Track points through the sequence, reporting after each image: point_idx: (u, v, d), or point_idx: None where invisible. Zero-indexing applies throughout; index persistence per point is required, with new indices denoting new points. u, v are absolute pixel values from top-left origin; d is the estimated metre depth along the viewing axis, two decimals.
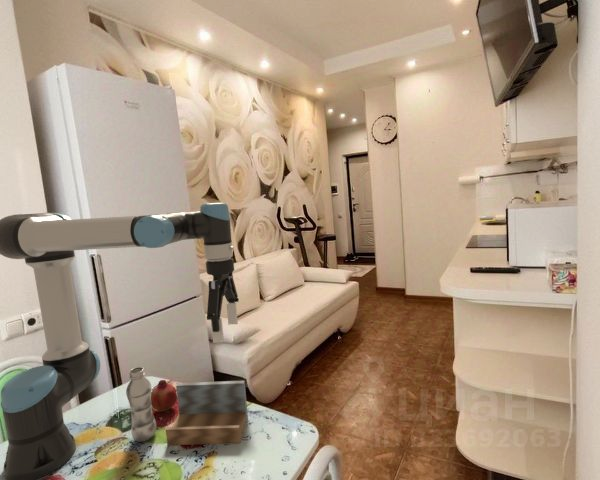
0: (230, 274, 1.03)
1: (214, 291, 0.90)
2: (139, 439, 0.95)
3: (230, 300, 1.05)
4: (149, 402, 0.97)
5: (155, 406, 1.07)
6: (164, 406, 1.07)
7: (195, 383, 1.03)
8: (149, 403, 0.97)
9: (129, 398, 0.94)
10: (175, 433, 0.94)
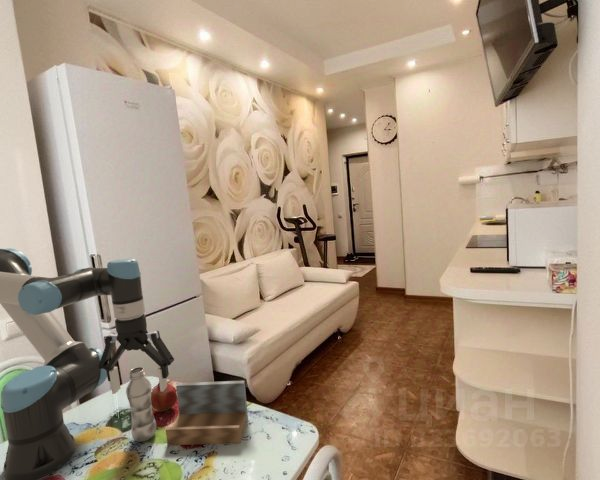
0: None
1: None
2: (139, 439, 0.95)
3: None
4: (149, 402, 0.97)
5: (155, 406, 1.07)
6: (164, 406, 1.07)
7: (195, 383, 1.03)
8: (149, 403, 0.97)
9: (129, 398, 0.94)
10: (175, 433, 0.94)
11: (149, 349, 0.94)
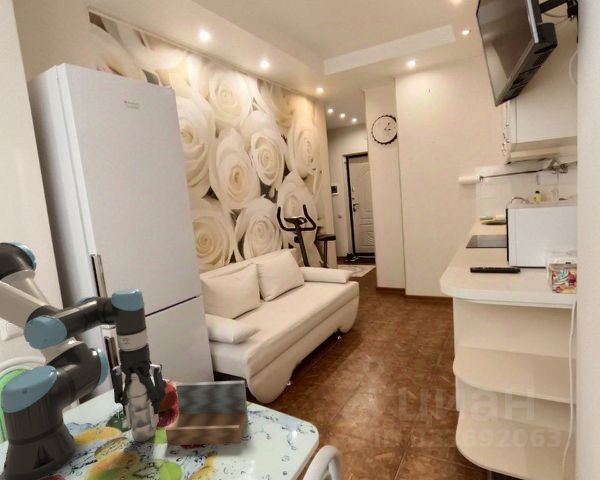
0: None
1: None
2: (139, 439, 0.95)
3: None
4: (149, 402, 0.97)
5: None
6: (164, 406, 1.07)
7: (195, 383, 1.03)
8: (149, 403, 0.97)
9: (129, 398, 0.94)
10: (175, 433, 0.94)
11: (148, 382, 0.96)
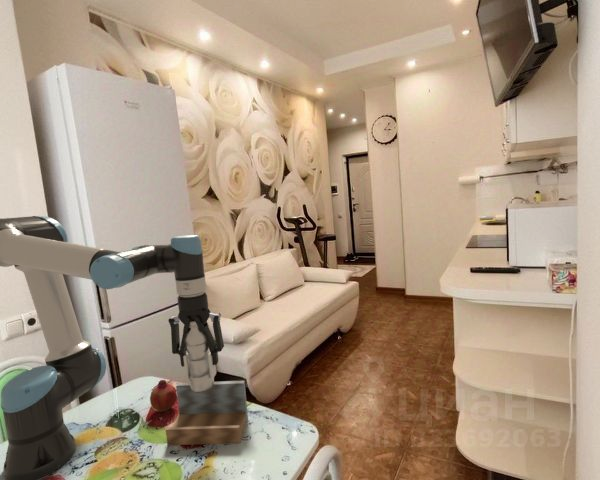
0: (214, 318, 0.92)
1: None
2: (199, 389, 0.92)
3: None
4: (207, 352, 0.94)
5: (155, 406, 1.07)
6: (164, 406, 1.07)
7: None
8: (207, 353, 0.94)
9: (188, 347, 0.91)
10: (175, 433, 0.94)
11: (207, 331, 0.93)
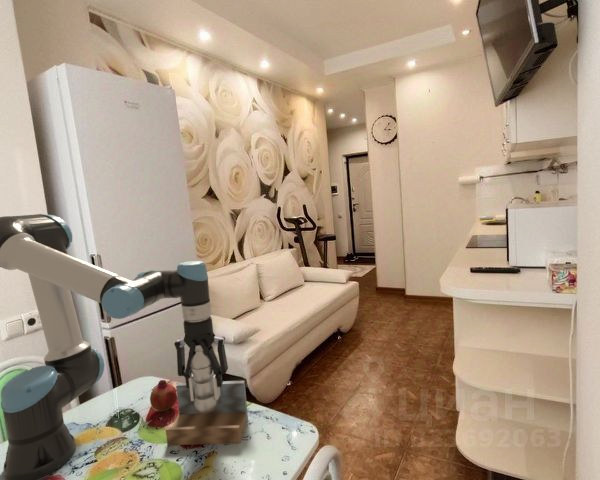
0: None
1: None
2: (204, 411, 0.95)
3: None
4: (212, 375, 0.96)
5: (155, 406, 1.07)
6: (164, 406, 1.07)
7: None
8: (212, 376, 0.96)
9: (194, 370, 0.94)
10: (175, 433, 0.94)
11: (211, 355, 0.95)
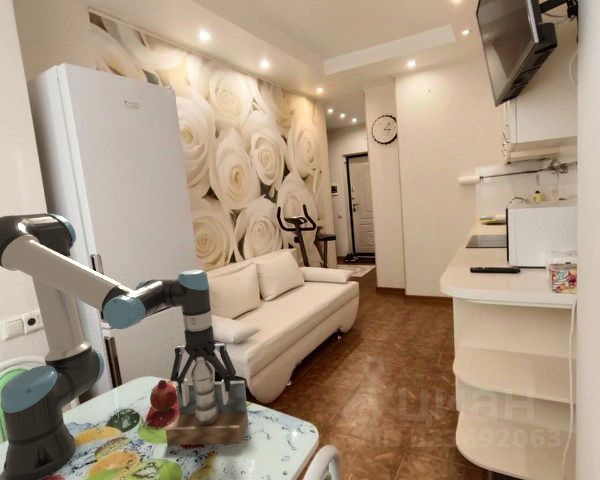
0: (219, 348, 0.95)
1: None
2: (204, 423, 0.95)
3: None
4: (213, 386, 0.97)
5: (155, 406, 1.07)
6: (164, 406, 1.07)
7: None
8: (213, 387, 0.97)
9: (195, 381, 0.94)
10: (175, 433, 0.94)
11: (215, 361, 0.96)
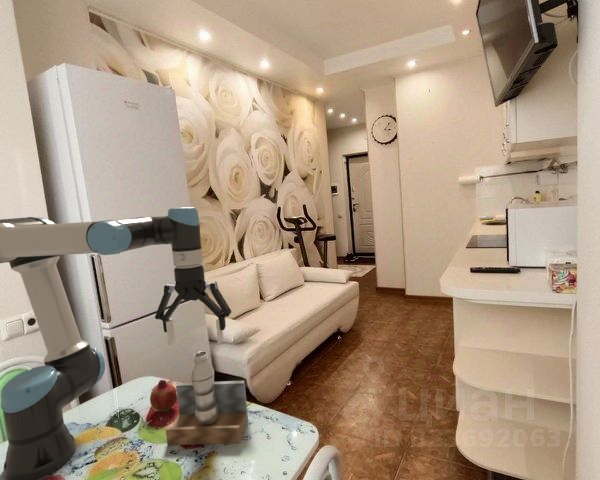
0: None
1: None
2: (204, 423, 0.95)
3: None
4: (213, 386, 0.97)
5: (155, 406, 1.07)
6: (164, 406, 1.07)
7: None
8: (213, 387, 0.97)
9: (194, 382, 0.94)
10: (175, 433, 0.94)
11: (207, 300, 0.93)
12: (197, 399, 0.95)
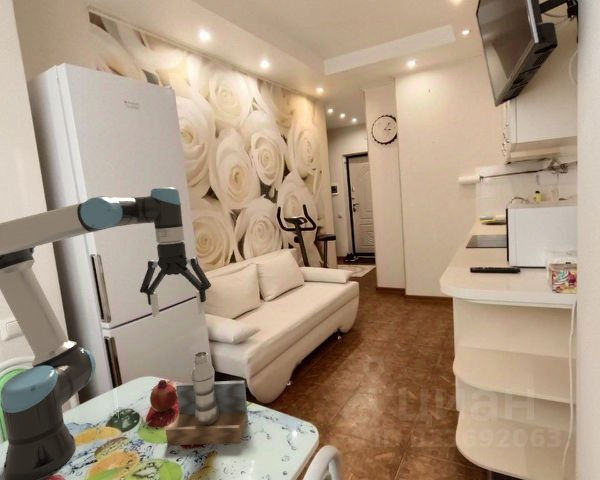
0: (191, 261, 0.99)
1: None
2: (204, 423, 0.95)
3: None
4: (213, 386, 0.97)
5: (155, 406, 1.07)
6: (164, 406, 1.07)
7: None
8: (213, 387, 0.97)
9: (195, 382, 0.94)
10: (175, 433, 0.94)
11: (188, 274, 1.00)
12: (197, 399, 0.95)
